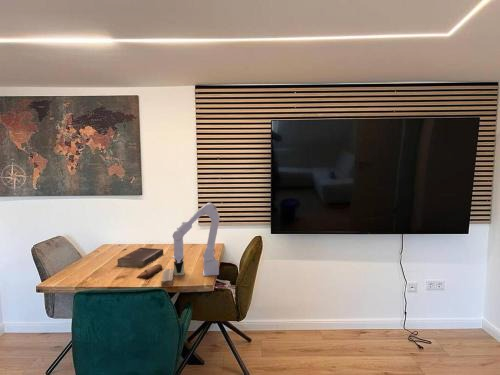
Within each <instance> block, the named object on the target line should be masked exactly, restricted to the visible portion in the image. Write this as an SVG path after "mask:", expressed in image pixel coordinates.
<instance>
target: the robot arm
mask: <svg viewBox="0 0 500 375" xmlns="http://www.w3.org/2000/svg"><path fill="white" fill-rule="evenodd" d="M205 215H206V216H207V217H209V218H210V220H211V223H210V227H209V232H208V237H207V238H208V239H207V243H206V247H205V250H204V253H203V254H202V258H203V259H202V260H203V271H202V276H203V277H208V276H219V275H220V263H219V258H216V257H215V254H216V251H215V245H216V240H217V234H218V228H219V223H220V215H219V211H218V209H217V206H216V205H215V204H214V203H212V202H207V203H206V204H205V205H203V206H202V207H200V208H199V209H198V210H197V211H196V212H195V213H194V214H193V215H192V217H190V219H189V220H185V221H183V222H181V225H180V226H179V227H177V228H176V230H175V231H173V233H172V239H173V256H172V257H171V258H172V259H174V260H175V262H174V261H173V265H174V264H175V266H176V270H177V273H181V269H182V265H183V261H184V258H185V255H184V236H185V235H186V234H187V233H188V232H189V231H190V230H191V229H192V228H193V224H194V223H195V222H196V221H197V220H198V219H199V218H200V217H201V216H205ZM181 261H182V262H181Z"/></svg>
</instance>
